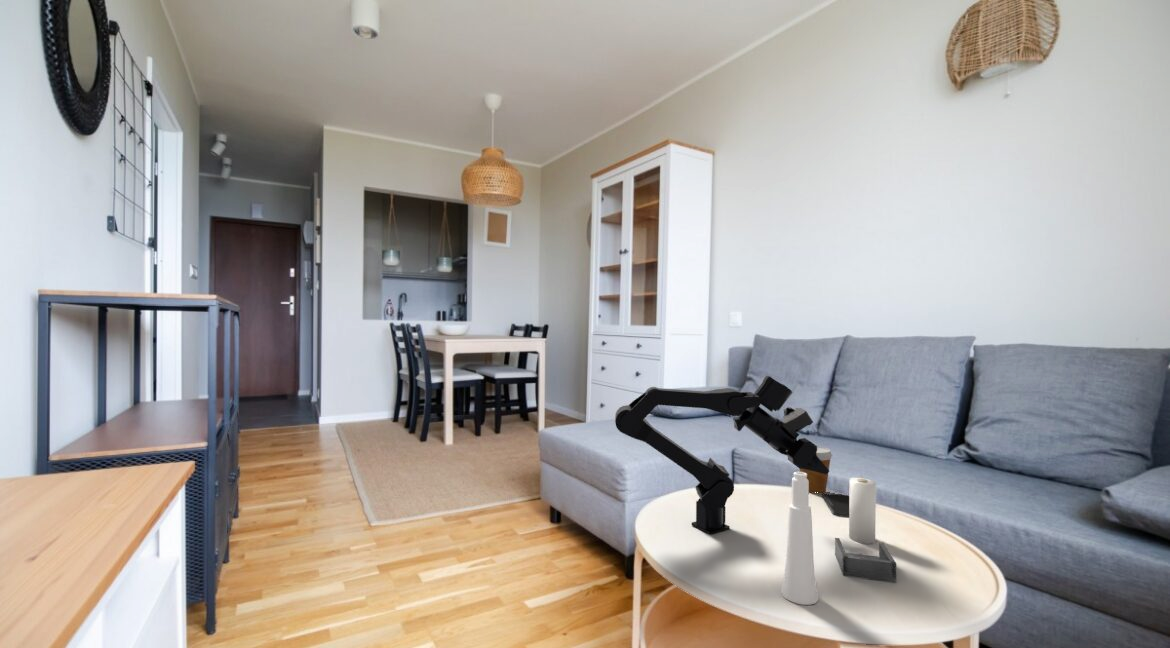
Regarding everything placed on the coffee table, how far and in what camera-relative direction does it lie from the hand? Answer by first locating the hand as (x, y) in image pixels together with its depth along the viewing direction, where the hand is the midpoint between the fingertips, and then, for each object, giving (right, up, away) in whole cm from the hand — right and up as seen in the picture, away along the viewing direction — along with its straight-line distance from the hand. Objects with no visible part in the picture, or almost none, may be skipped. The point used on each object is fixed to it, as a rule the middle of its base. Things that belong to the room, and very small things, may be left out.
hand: (819, 466), depth 119 cm
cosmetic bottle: (-17, -15, -28) cm, 36 cm away
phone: (+13, -15, +15) cm, 25 cm away
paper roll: (+7, -15, -5) cm, 17 cm away
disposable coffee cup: (+11, -15, +28) cm, 34 cm away
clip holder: (0, -15, -18) cm, 24 cm away
